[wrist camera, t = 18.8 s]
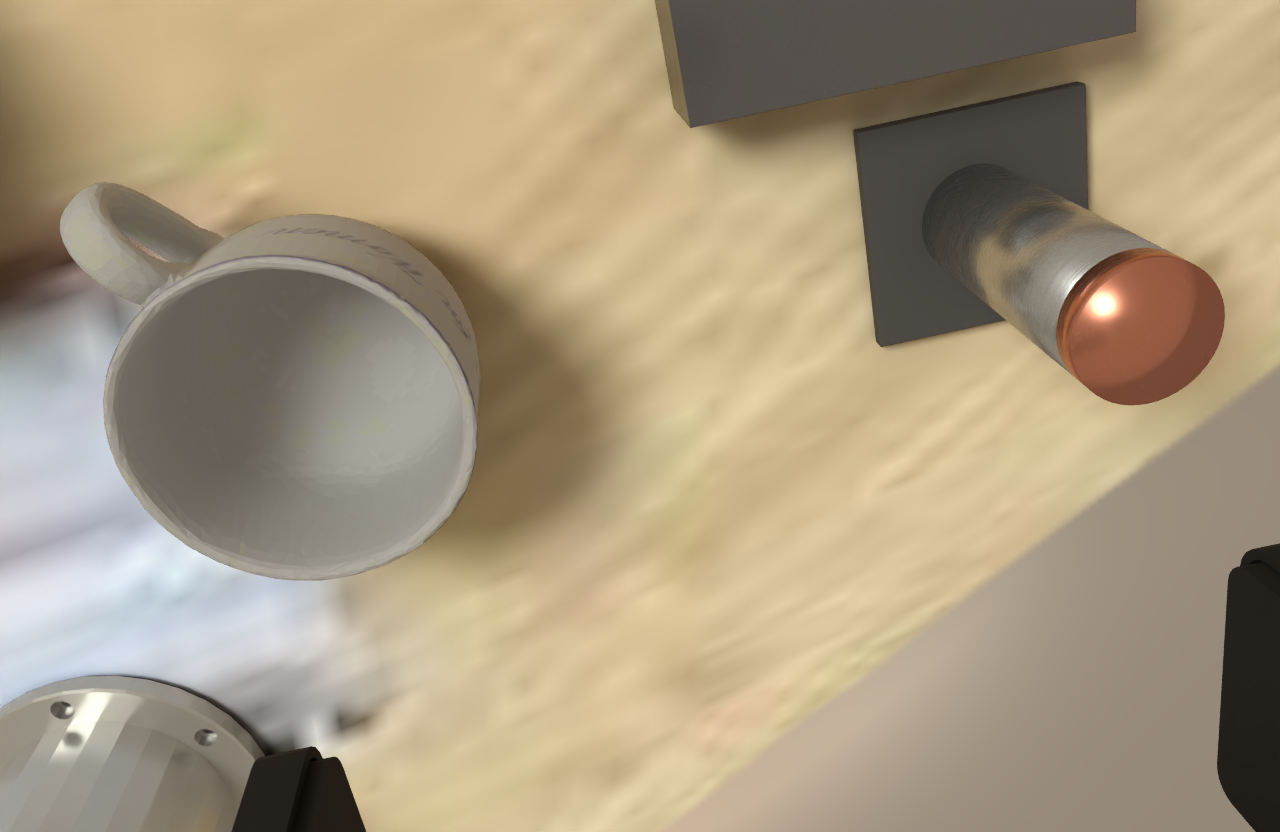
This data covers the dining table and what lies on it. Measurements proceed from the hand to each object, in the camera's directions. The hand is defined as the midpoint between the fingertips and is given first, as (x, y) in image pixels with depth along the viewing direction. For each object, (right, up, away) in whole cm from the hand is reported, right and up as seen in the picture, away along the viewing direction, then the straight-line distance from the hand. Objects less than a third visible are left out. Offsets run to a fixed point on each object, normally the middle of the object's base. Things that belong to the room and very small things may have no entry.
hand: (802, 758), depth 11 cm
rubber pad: (+10, +11, +28) cm, 32 cm away
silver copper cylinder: (+10, +11, +28) cm, 31 cm away
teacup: (-14, +8, +28) cm, 32 cm away
